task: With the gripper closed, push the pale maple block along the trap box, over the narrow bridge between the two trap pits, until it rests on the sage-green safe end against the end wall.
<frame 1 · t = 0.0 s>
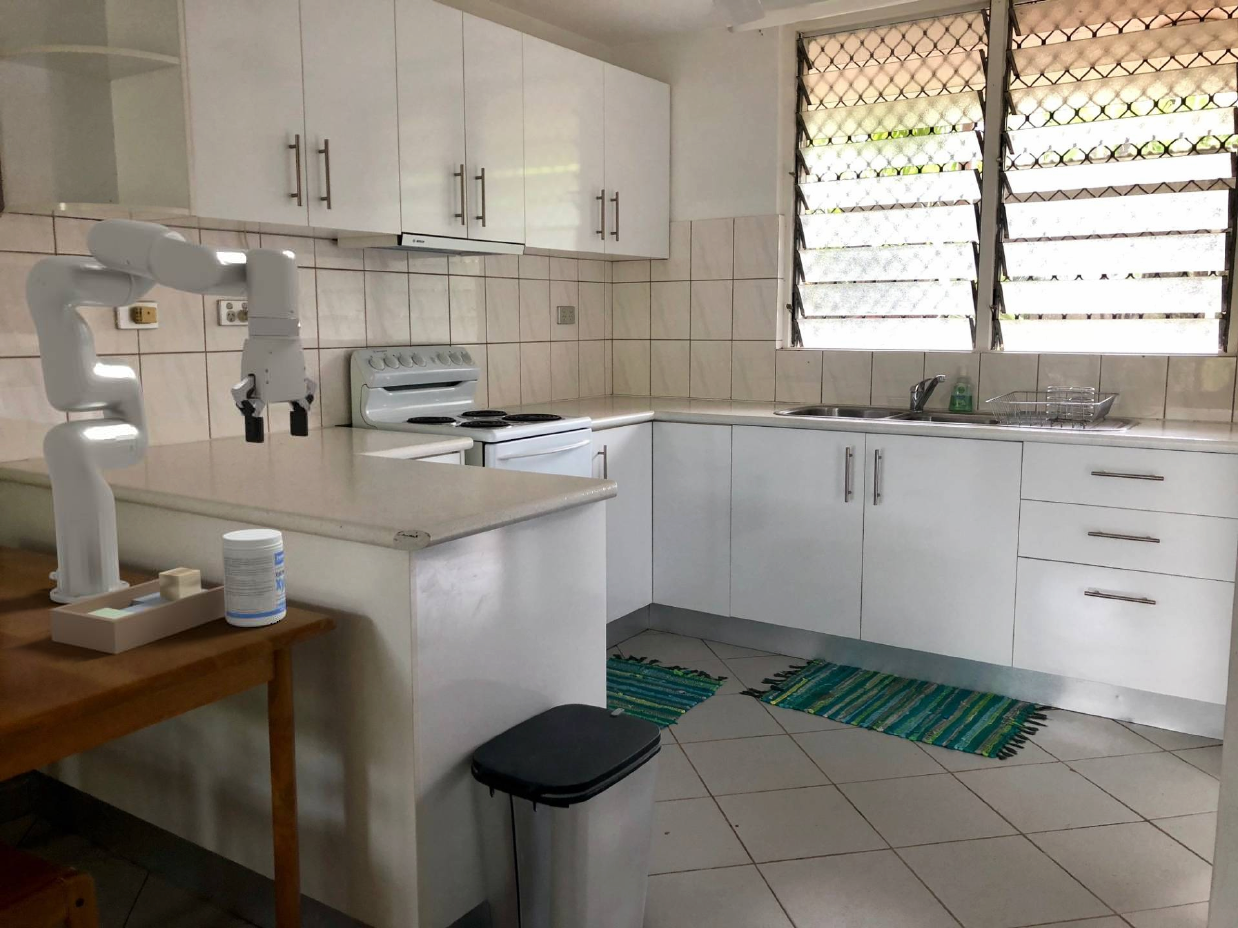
hand: (277, 439, 153), 31 cm above the table, fingers open, 9 cm apart
supplement tub: (255, 620, 162), on the table
trap box: (149, 625, 158), on the table
maple block: (180, 597, 164), point 3 cm above the table, touching trap box
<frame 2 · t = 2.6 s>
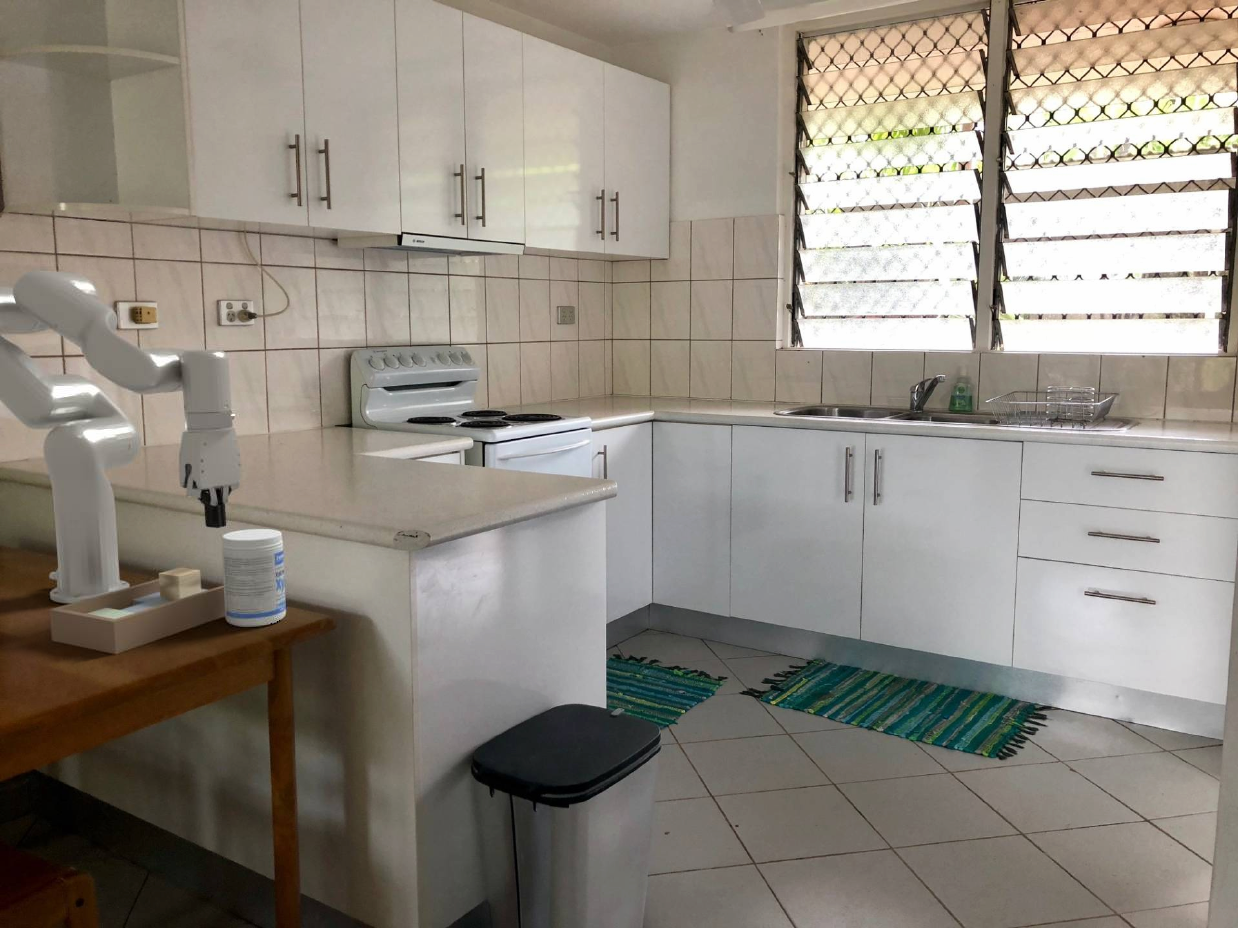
hand: (216, 526, 169), 14 cm above the table, fingers closed
nothing on the table moved.
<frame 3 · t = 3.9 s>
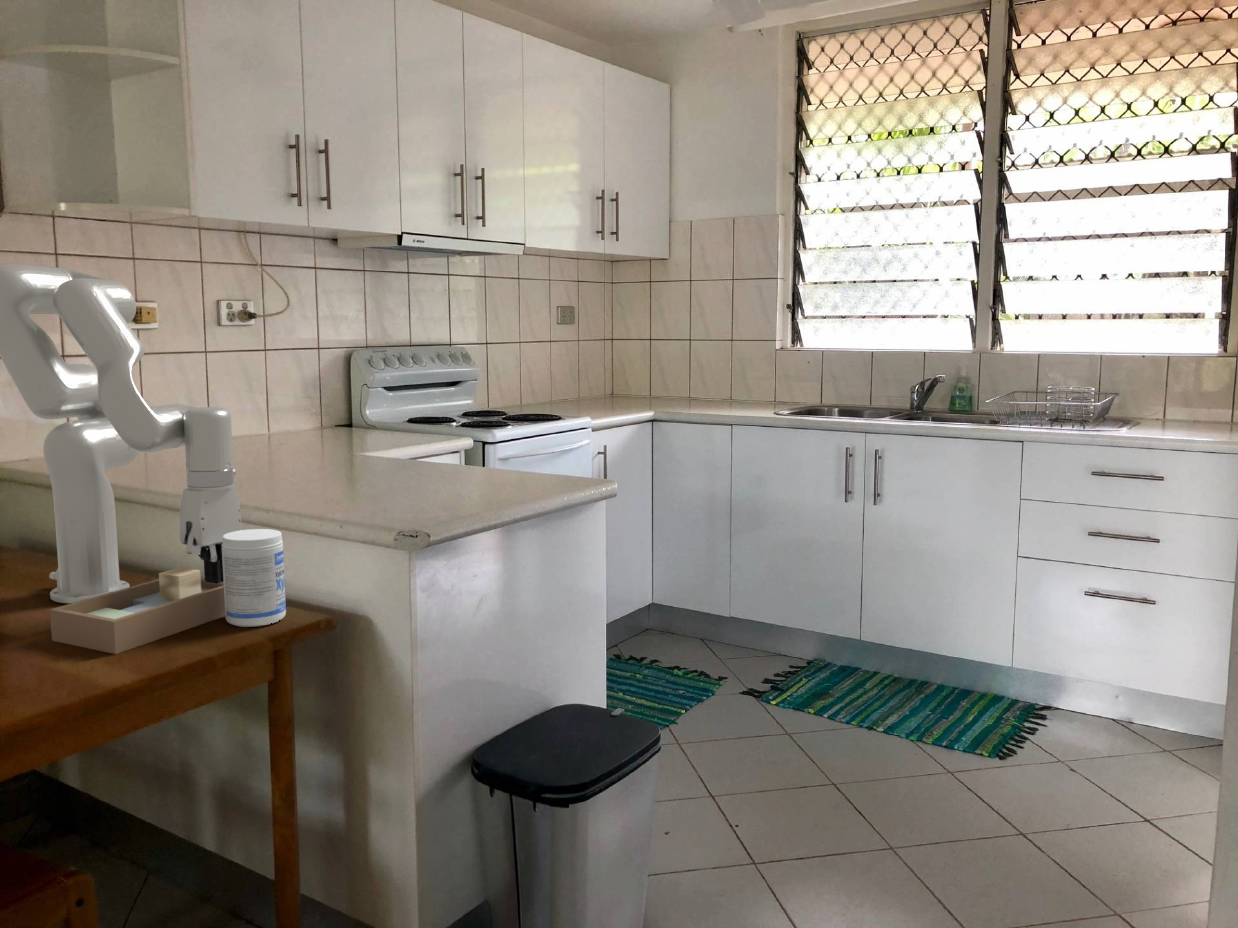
hand: (215, 581, 170), 4 cm above the table, fingers closed
nothing on the table moved.
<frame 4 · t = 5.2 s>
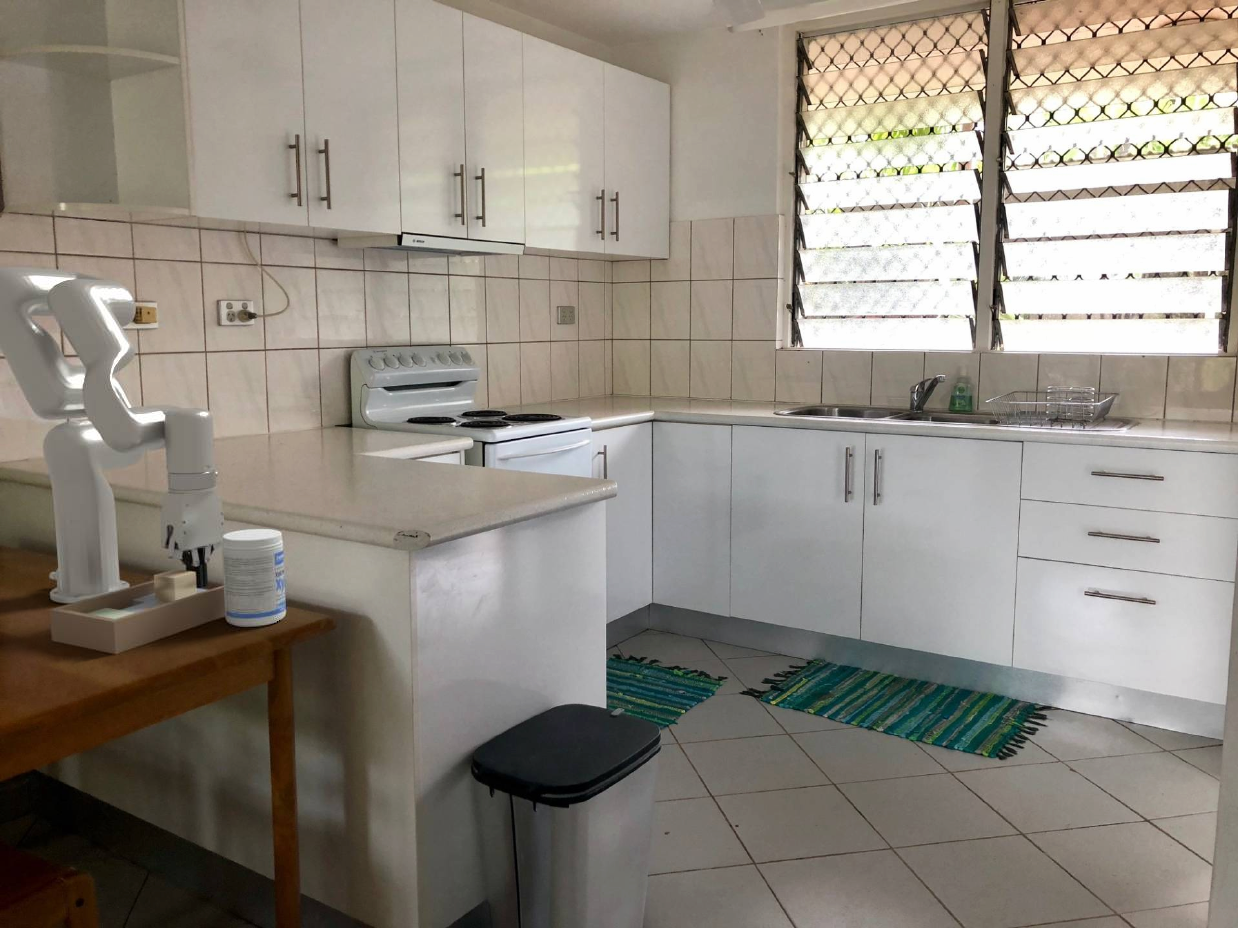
hand: (197, 586, 166), 4 cm above the table, fingers closed
maple block: (176, 599, 162), point 3 cm above the table, touching gripper
everything else where it was.
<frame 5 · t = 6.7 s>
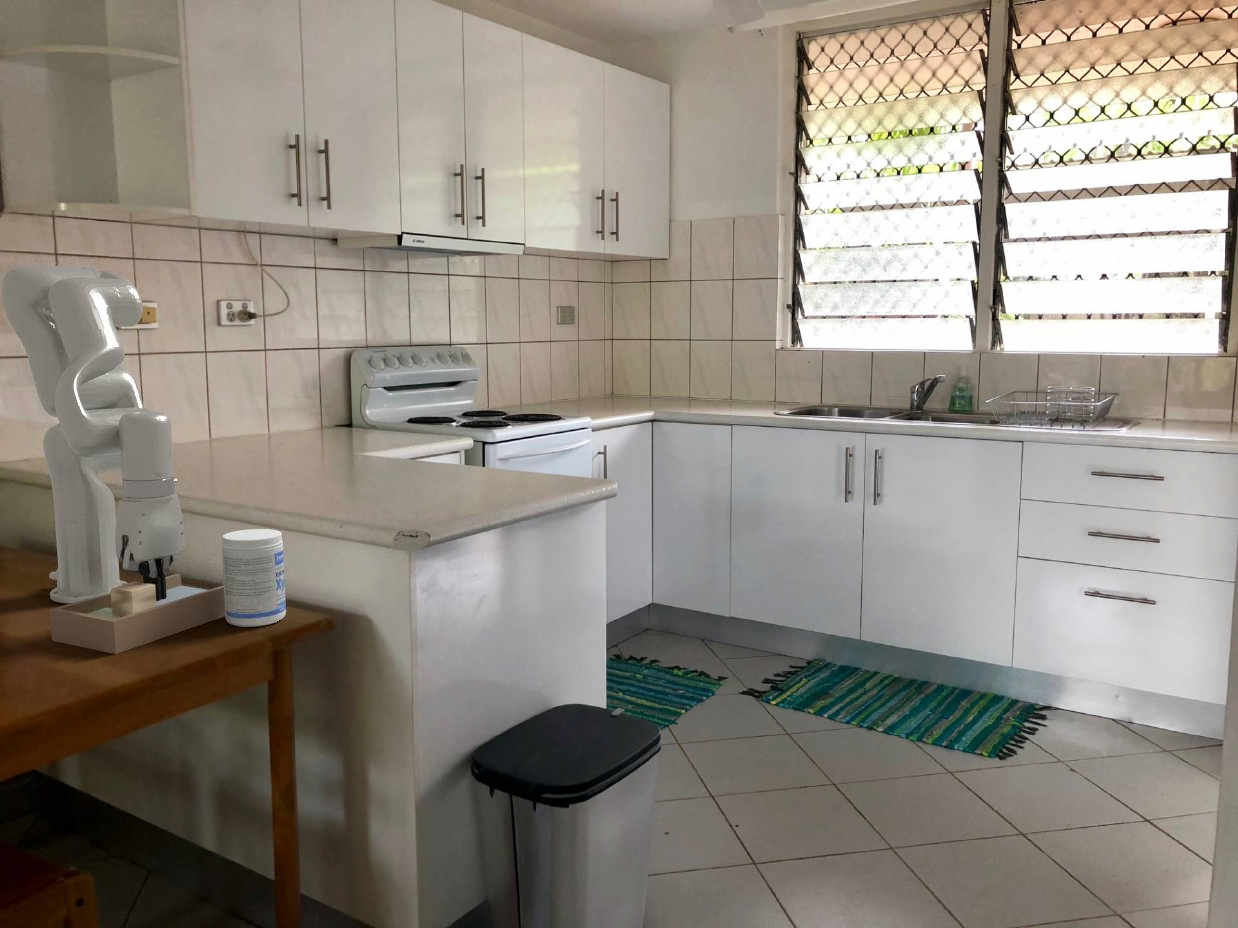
hand: (155, 598, 158), 4 cm above the table, fingers closed
maple block: (134, 613, 154), point 3 cm above the table, touching gripper
everything else where it was.
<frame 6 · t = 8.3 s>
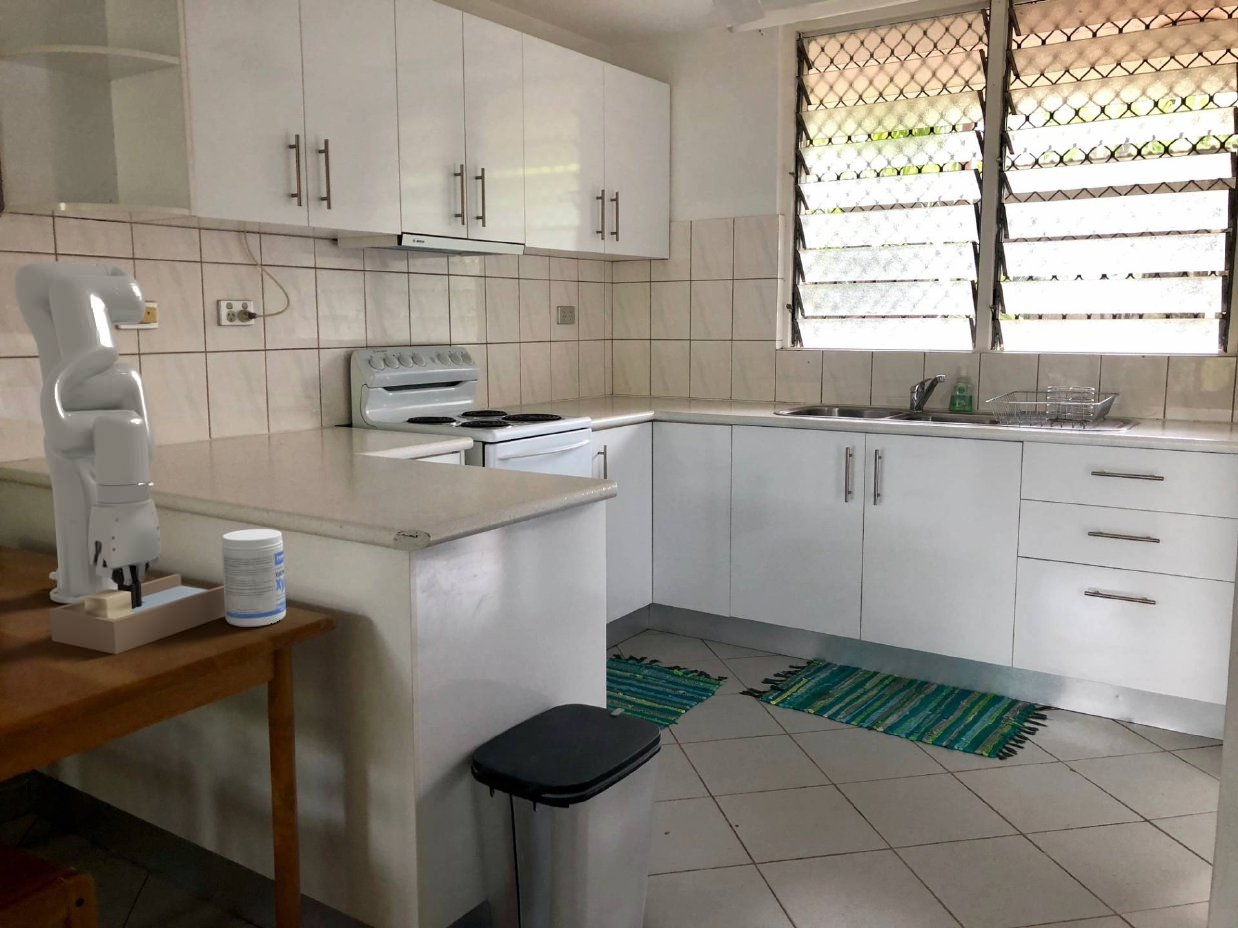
hand: (130, 606, 154), 4 cm above the table, fingers closed
maple block: (109, 622, 150), point 3 cm above the table, touching gripper, trap box
everything else where it was.
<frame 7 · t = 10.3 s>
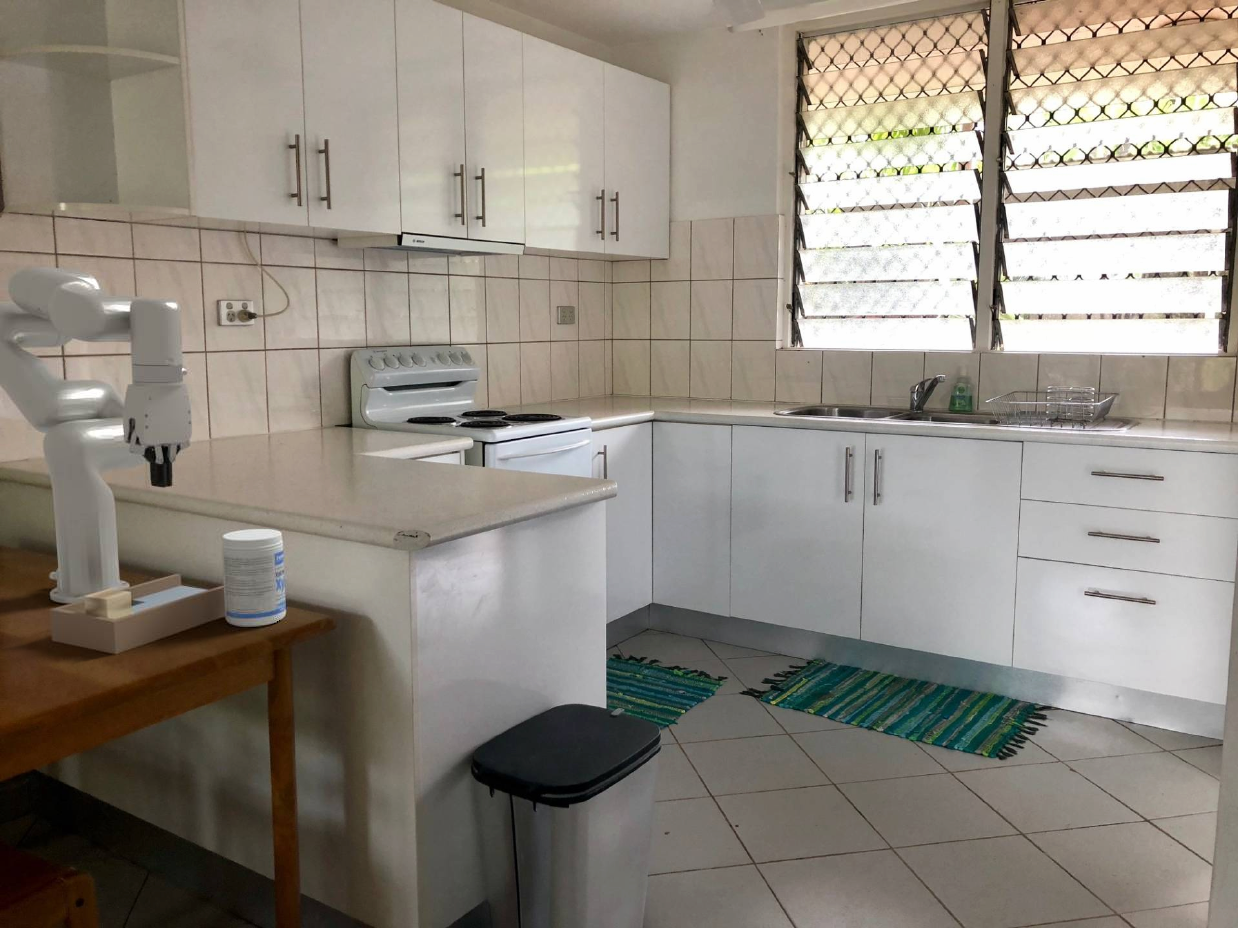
hand: (161, 485, 161), 22 cm above the table, fingers closed
maple block: (109, 622, 150), point 3 cm above the table, touching trap box
everything else where it was.
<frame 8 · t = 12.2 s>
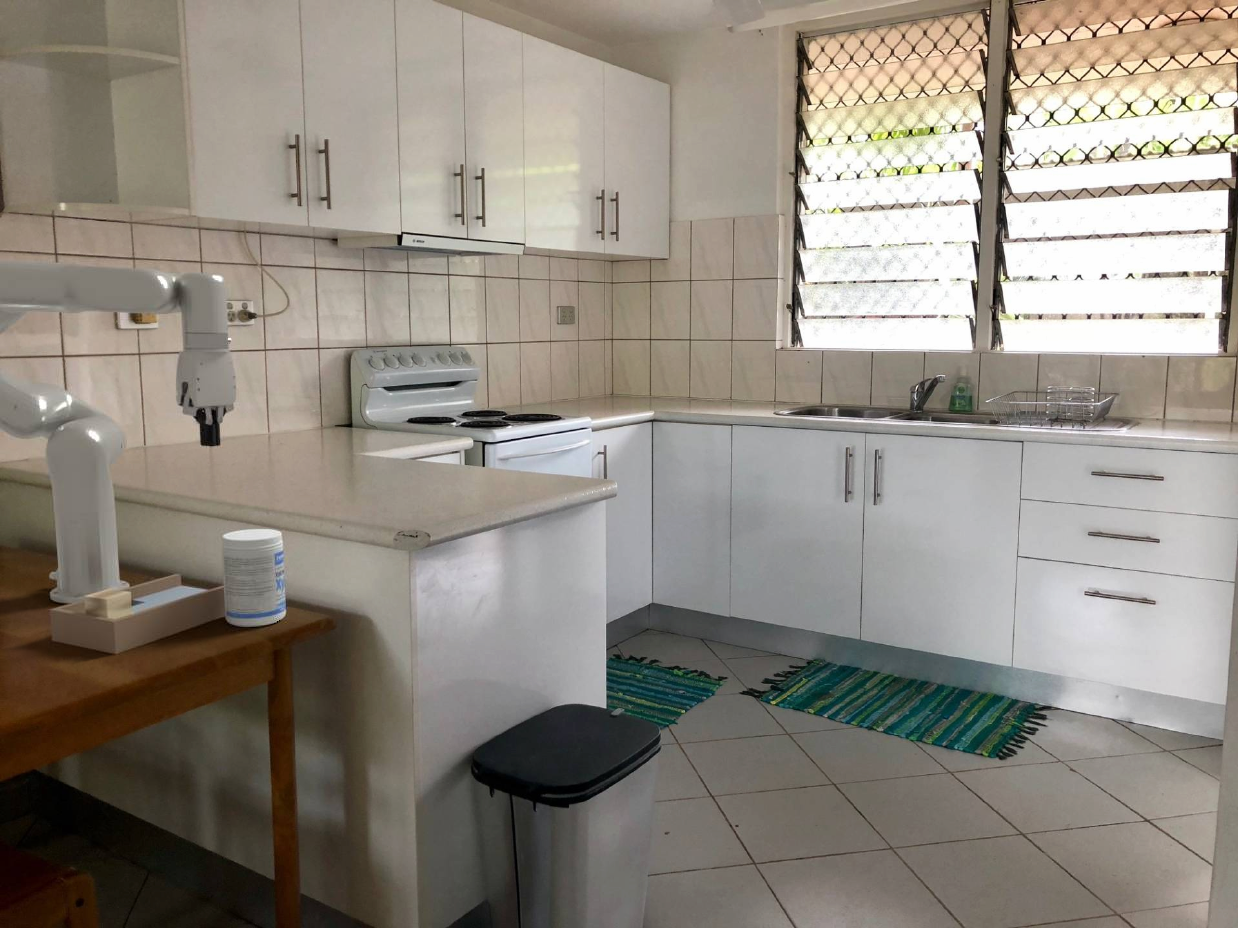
hand: (210, 445, 175), 27 cm above the table, fingers closed
nothing on the table moved.
at the end: maple block inside the target area on the trap box (1.1 cm from its centre), point 3.0 cm above the trap box's base; maple block tilted 0°; maple block point 3.0 cm above the table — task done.
